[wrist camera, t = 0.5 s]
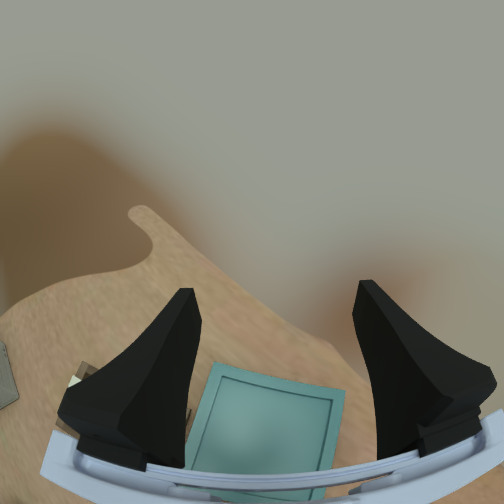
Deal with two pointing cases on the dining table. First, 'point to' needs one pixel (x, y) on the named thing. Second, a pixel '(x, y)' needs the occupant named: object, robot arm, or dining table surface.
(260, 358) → the dining table surface
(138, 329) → the dining table surface
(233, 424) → the tray
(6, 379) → the supplement box
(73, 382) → the white block with handle
